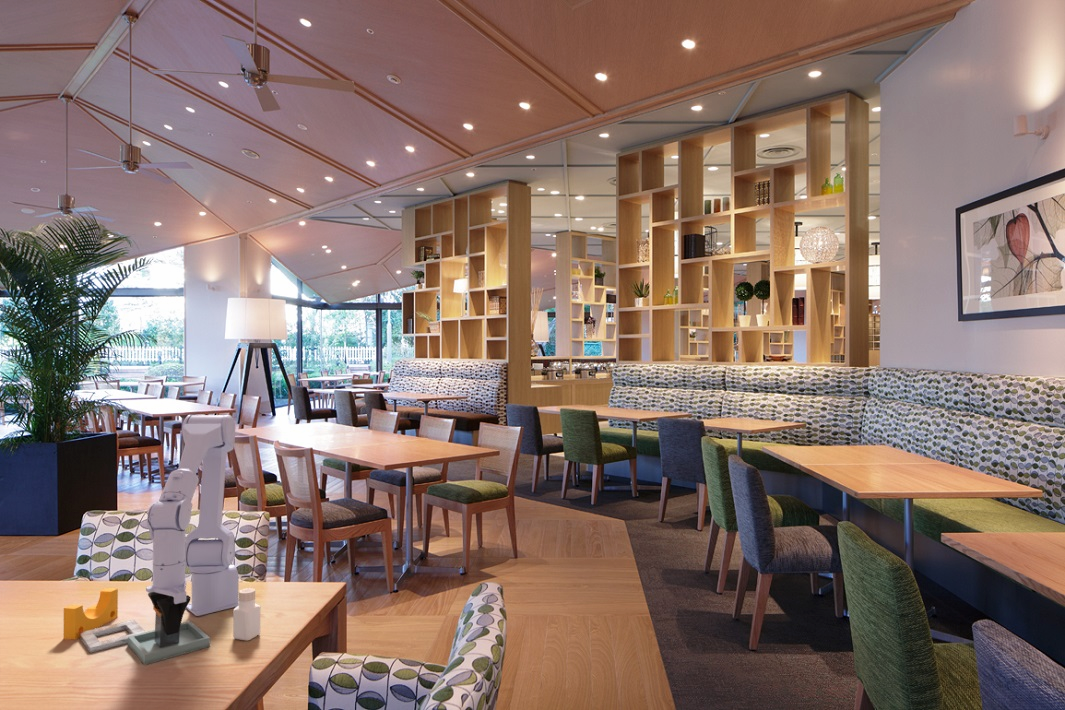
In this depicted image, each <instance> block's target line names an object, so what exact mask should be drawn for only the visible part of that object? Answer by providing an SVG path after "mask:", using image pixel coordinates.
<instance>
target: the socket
mask: <svg viewBox="0 0 1065 710" xmlns="http://www.w3.org/2000/svg"><path fill="white" fill-rule="evenodd" d="M125 630H126V631H127V632H128V634H125V635H121V636H118V637H114V638H111V639H110V638H109V639H105V640H99V639H98V637H101V636H105V635H110V634H114V633H117V632H121V631H125ZM144 632H147V631H146V630H145V629H144V628H143V627H142V626H141V625H140V624H139V623H138V622H137V621H136V620H135V619H132V620H127V621H123V622H117V623H114V624H110V625H105V626H100V627H98V628H96V629H92V630H88V631H84V632H79V638H78V639H80V641H81V642H82V644H83V645H84V646H85V648H86V649H87V651H88V652H89V654H91V653H95V652H99V651H104V650H108V649H110V648H111V649H113V648H114V647H119V646H123V645H126V644H127V645H128V636H132V635H136V634H140V633H144Z"/></svg>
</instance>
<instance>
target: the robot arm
mask: <svg viewBox="0 0 1065 710" xmlns="http://www.w3.org/2000/svg"><path fill="white" fill-rule="evenodd" d="M181 432H182V433H181V434H182V437H183V443H184V446H183V451H182V453H181V457H180V461H179V464H178V467H177V469H175V470H172V471H171V472H170V473H169V475H168V477H167V480H166V483H165V485H164V487H163V490H162V492H161V495H160V496H159V499H158V501H156V502H155V503H153V504H152V505H150V507H149V509H148V511H147V518H146V525H147V526H146V527H147V529H148V530H149V539H150V541H152V583H151V585H149V586H146V587H145V591H146V592H147V596H148V597H149V599H150V601H151V602H152V605H153V606H157V605H159V607H160V609H161V612H162V615H163V619H164V627H165V631H166V634H167V635H171V634H175V633H178V632H179V629H180V626H181V623H182V621H183V617H184V614H185V612H186V609H187V610H188V611H189V612H191V614H192V615H194V616H196V617H200V616H205V615H209V614H212V613H216V612H220V611H223V610H229V609H232V608H233V609H234V608H236V607H237V606H239V601H238V600H239V585H240V584H239V572H238V569H237V567H236V565H235V564H233V563H234V559H235V555H236V546H235V545H236V544H235V534H234V532H233V531H232V530H231V529H229V528H228V527H227V526H225V525H224V524H223V512H224V511H223V510H224V496H225V495H224V494H225V480H226V466H227V464H226V463H227V456H228V453H229V452H231V451H233V450H234V447H235V441H236V422H235V419H234V418H233V416H232V415H231V414H223V415H222V414H221V415H219V414H218V415H215V414H214V415H213V414H212V415H209V414H207V415H205V414H204V415H199V414H197V415H196V414H195V415H194V414H188V415H187V416H186V417H185V418H184V420H183V422H182V426H181ZM201 464H202V471H201V472H202V473H201V487H200V496H199V497H200V498H199V499H200V500H199V515H198V526H197V527H195V528H194V529H192V530H191V531H190V532H189V533H187V535H186V530H187V528H189V527H188V526H189V525H190V522H191V519H192V517H191V516H192V509H193V503H192V500H193V497H194V494H195V492H196V489H197V487H198V484H199V477H198V475H197V472H198V470H199V468H200V466H201ZM186 568H187V569H188V572H189V573H191V596H189V595H188V594H187V591H186V589H187V580H186Z"/></svg>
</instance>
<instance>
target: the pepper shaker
mask: <svg viewBox="0 0 1065 710" xmlns="http://www.w3.org/2000/svg"><path fill="white" fill-rule="evenodd" d="M238 603H239V606H237V607H234V608H233V610H232V611H233V612H232V617H233V618H232V619H233V620H232V628H233V630H232V632H233V633H232V636H233V637H232V638H234V639H235V640H241V641H250V640H252V639H254V638H256V637H257V635H258V636H259V635H260V634H261V606H260V605H259V604H257V603H256V589H255V588H252V587H251V588H250V587H246V588H243V589H240V590H238Z"/></svg>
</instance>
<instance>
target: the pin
mask: <svg viewBox="0 0 1065 710" xmlns="http://www.w3.org/2000/svg"><path fill="white" fill-rule="evenodd" d="M153 610H154V612H155V619H154V620H155V622H154V625H155V626H154V630H155V642H156V644H157V645H158V646H159V647H164V646H168V645H172V644H176V643H179V635H180V629H179V632H178V633H175V634H171V635H167V634H166V631H165V627H164V619H163V615H162V612H161V609H160V607H159V605H157V606H154V605H153Z"/></svg>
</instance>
